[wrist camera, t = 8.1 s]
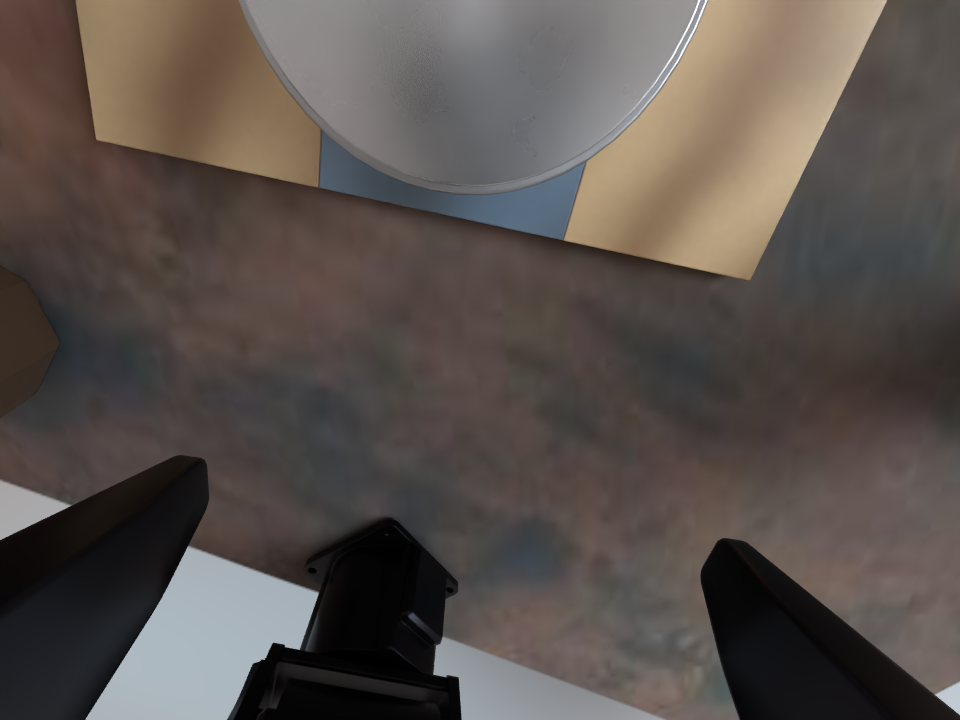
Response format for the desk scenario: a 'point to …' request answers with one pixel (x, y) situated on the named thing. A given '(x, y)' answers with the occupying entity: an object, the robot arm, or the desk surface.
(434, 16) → the tin can
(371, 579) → the robot arm
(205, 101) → the board
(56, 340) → the beer bottle
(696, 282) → the desk surface
